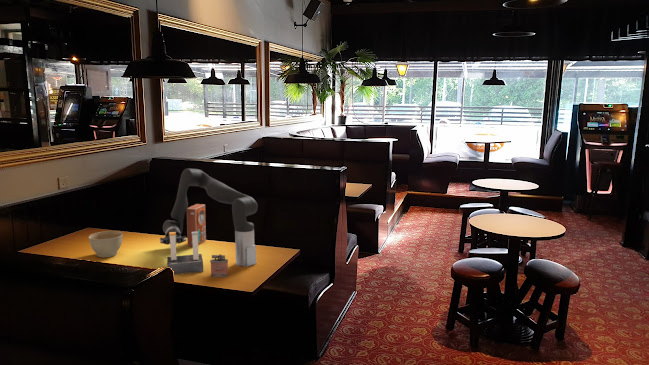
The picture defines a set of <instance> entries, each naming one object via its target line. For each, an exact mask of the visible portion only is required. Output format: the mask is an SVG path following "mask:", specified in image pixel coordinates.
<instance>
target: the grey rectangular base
mask: <svg viewBox="0 0 649 365" xmlns="http://www.w3.org/2000/svg"><path fill="white" fill-rule="evenodd" d="M198 254H199V259H198V260H193V254H186V255H176V258H177V260H171V256H168V257H167V258H166V259H167V261H166V262H167V263H166V266H167V267H170V268H172V270H173V271H174V274H175V275H182V274H181V273H184V274H191V273H201V272H204V258H203V255H202V253H198Z"/></svg>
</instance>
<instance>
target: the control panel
mask: <svg viewBox="0 0 649 365" xmlns="http://www.w3.org/2000/svg"><path fill="white" fill-rule="evenodd" d="M206 215H207V214H206V204H203V203H201V204H200V203H195V204H194V205H191V206H188V207H187V211H186V234H187V235H186V241H187V247H193V242H192V232H196V231H198V246H200V245H202V244H203V243H204V242H206V241H207V233H206V232H207V229H206V227H207V226H206V224H207V223H206V217H207V216H206Z"/></svg>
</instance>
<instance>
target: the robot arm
mask: <svg viewBox="0 0 649 365" xmlns="http://www.w3.org/2000/svg"><path fill="white" fill-rule="evenodd" d="M189 187H199V188H203V190H205V191H206V194H207V196H208V197H209V198H211V199H212V200H215V201H217V202H219V203H223V204H229V205H232V206H231V211H232V222H233V226H234V239H235V240H234V242H235V265H236V266H237V267H246V268H247V267H251V266H254V265H256V264H257V245H256V244H255V224H254V223H253V222H251V221H250V222H249V221H247V217H248V216H252V215H254V214H256V213H257V212H258V208H259V204H258V203H257V201H256V200H255V199H254V198H253V197H252V196H249V195H248V194H245V193H242V192H240V191H237V190H235V189H234V188H232V187H230V186H228V185H227V184H225V183H224V182H222V181H219V180H217V179H216V178H213V177H212V176H209V174H207V173H206V172H204V171H203V170H202V169H198V168H185V169H183V171H182V173H181V175H180V179H179V183H178V189H177V194H176V197H175V198H176V199H175V203H174V205H173V208H172V210H171V213H170V216H171V218H172V219H174V220H170V219H167V220H165V221H164V222H163V223H162V224H163V225H162V231H163V233H165V234H164V235H165V236H164V237H160V238H159V240H160V241H159V242H160V244H164V245H170V236H169V232H176V235H175V239H176V245H177V244H182V243H184V242H187V235H183V236H182V235H181V234H182V233H183V228H184V219H185V215H186V214H187V208H189V201H188V196H187V192H188V189H189Z"/></svg>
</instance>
